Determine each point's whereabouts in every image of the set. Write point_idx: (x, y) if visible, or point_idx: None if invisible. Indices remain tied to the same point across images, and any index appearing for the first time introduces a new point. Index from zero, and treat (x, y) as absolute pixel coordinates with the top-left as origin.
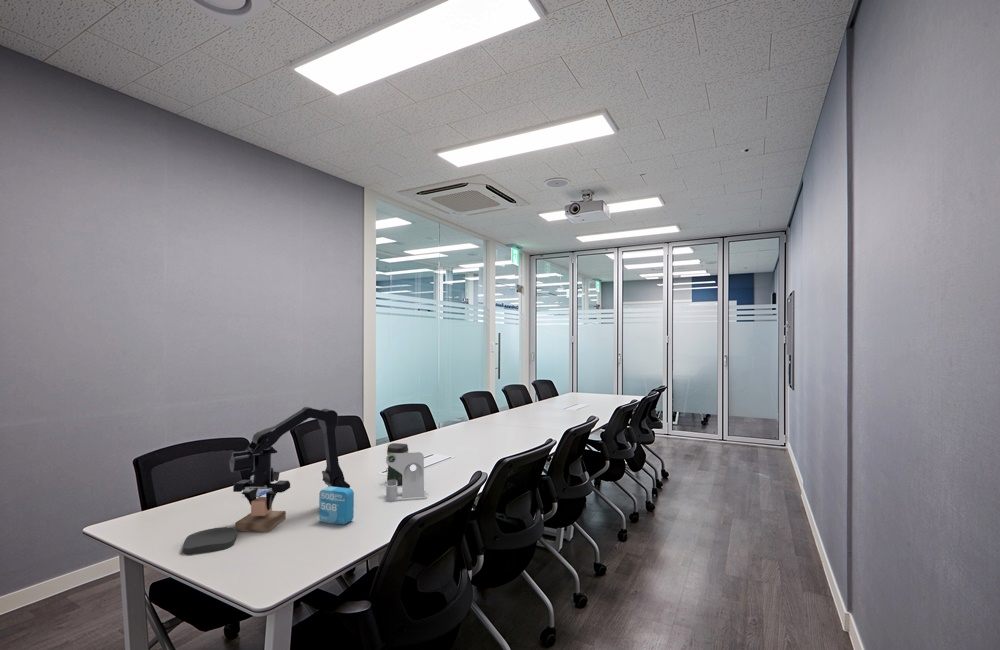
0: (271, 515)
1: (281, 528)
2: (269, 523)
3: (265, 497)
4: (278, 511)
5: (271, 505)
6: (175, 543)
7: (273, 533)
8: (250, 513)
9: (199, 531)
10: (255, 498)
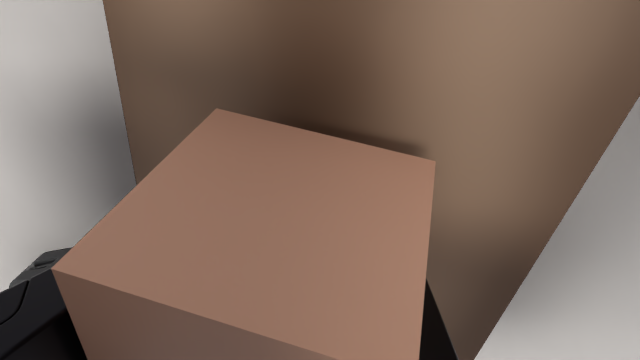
0: (446, 180)
1: (587, 262)
2: (475, 347)
3: (240, 349)
4: (533, 20)
5: (425, 240)
6: (5, 289)
7: (520, 331)
8: (119, 52)
9: (17, 282)
10: (65, 341)
